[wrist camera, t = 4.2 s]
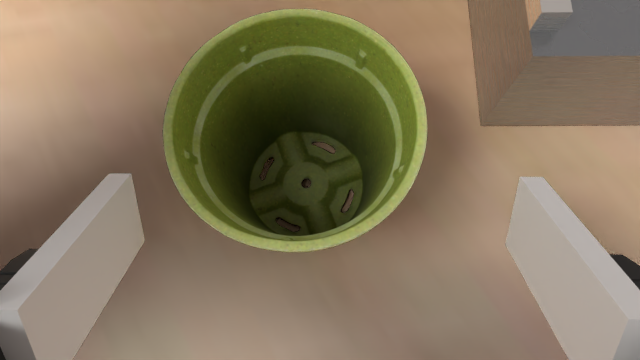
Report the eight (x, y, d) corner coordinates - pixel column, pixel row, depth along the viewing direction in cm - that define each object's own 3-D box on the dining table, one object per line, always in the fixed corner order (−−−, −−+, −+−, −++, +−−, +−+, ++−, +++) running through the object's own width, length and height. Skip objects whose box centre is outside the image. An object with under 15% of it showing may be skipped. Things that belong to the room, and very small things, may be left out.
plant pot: (358, 306, 23) (375, 295, 15) (186, 236, 25) (114, 191, 16) (419, 141, 26) (461, 53, 18) (260, 84, 27) (229, -23, 19)
